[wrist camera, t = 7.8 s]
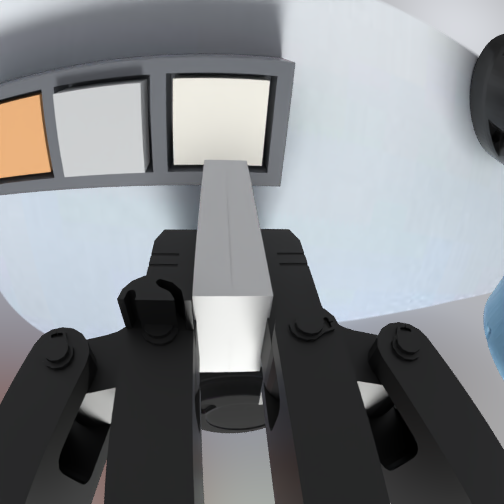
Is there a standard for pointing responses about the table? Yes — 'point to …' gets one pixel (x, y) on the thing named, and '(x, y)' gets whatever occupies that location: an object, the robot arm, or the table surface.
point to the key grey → (103, 128)
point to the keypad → (156, 116)
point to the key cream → (219, 118)
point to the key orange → (23, 136)
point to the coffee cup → (231, 401)
